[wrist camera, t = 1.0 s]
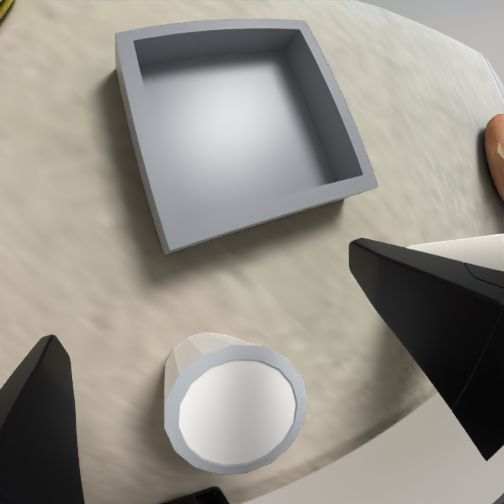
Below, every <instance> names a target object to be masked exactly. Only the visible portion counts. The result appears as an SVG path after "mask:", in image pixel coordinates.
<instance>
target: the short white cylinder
mask: <svg viewBox="0 0 504 504" xmlns="http://www.w3.org/2000/svg"><path fill="white" fill-rule="evenodd" d="M307 403H308V398H307V394H306V390H305V386H304V382H303V378H302V376H301V374H300V373H299V372H298V371H297V370H296V368H295V367H294V366H293V365H292V363H291V362H290V361H289V360H288V358H287V357H285V356H282V355H280V354H278V353H276V352H274V351H272V350H270V349H268V348H266V347H264V346H261V345H257V344H254V343H250V342H247V341H244V340H240V339H237V338H233V337H230V336H227V335H224V334H220V333H208V332H202V333H199V334H196V335H192V336H189V337H186V338H185V339H184V340H183V341H182V342H180V343H179V344H178V345H177V346H175V347H174V348H173V350H172V352H171V354H170V355H169V357H168V359H167V361H166V363H165V379H164V428H165V430H166V433H167V435H168V437H169V439H170V441H171V444H172V446H173V448H174V450H175V452H177V453H178V454H179V455H180V456H181V457H183V458H184V459H185V460H186V461H188V462H189V463H190V464H191V465H193V466H194V467H195V468H198V469H202V470H205V471H208V472H212V473H215V474H219V475H226V474H241V473H248V472H251V471H253V470H255V469H258V468H260V467H263V466H265V465H267V464H270V463H272V462H273V461H274V460H275V459H276V458H278V457H279V456H280V455H281V454H282V453H283V452H285V451H286V450H287V449H288V448H289V447H290V446H291V445H292V444H293V442H294V440H295V439H296V437H297V435H298V433H299V432H300V430H301V428H302V426H303V425H304V421H305V415H306V409H307Z"/></svg>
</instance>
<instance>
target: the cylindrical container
mask: <svg viewBox="0 0 504 504" xmlns="http://www.w3.org/2000/svg"><path fill="white" fill-rule="evenodd" d="M407 248H409V249H413V250H417V251H422V252H426V253H430V254H434V255H438V256H442V257H446V258H450V259H454V260H458V261H462V262H463V263H464V262H466V263H470V264H474V265H478V266H482V267H486V268H491V269H495V270H500V271H504V233H503V234H495V235H487V236H480V237H472V238H464V239H457V240H449V241H441V242H433V243H425V244H417V245H411V246H409V247H407Z"/></svg>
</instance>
